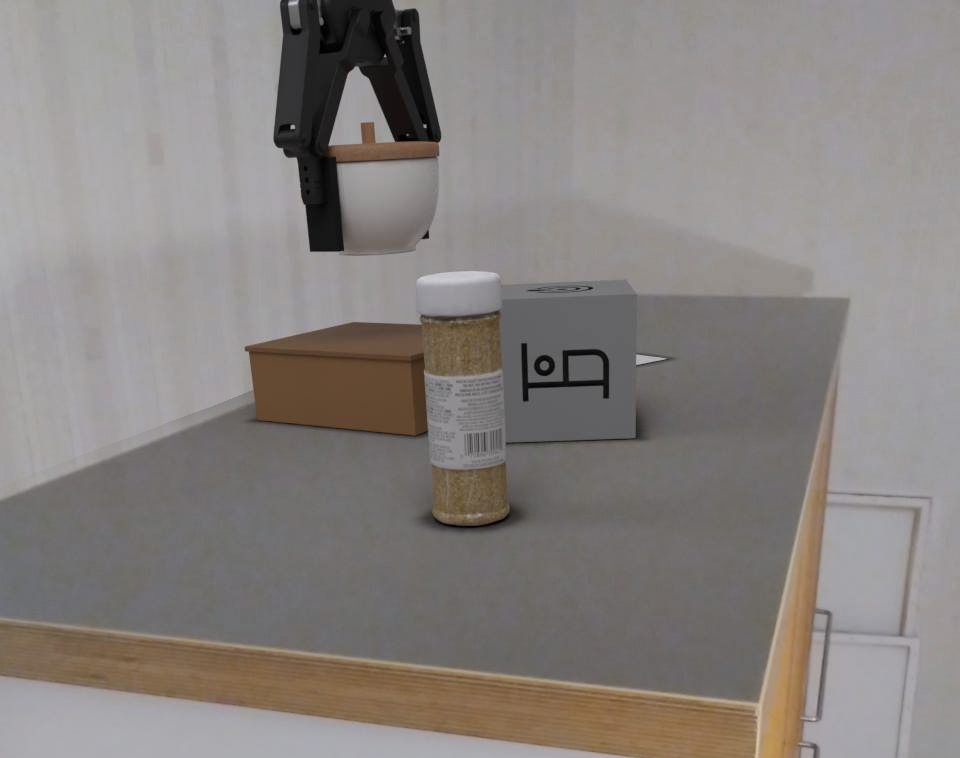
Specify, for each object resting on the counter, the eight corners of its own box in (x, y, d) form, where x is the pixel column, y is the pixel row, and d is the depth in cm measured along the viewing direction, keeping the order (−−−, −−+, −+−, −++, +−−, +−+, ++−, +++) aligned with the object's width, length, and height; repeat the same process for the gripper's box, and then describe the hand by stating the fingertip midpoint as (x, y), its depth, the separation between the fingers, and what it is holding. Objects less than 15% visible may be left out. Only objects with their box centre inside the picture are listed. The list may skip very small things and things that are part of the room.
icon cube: (497, 442, 81) (491, 300, 77) (500, 414, 90) (495, 285, 86) (635, 438, 81) (636, 294, 77) (625, 409, 90) (625, 279, 86)
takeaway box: (253, 420, 93) (244, 346, 90) (359, 388, 104) (353, 321, 101) (416, 436, 84) (410, 355, 82) (512, 400, 96) (509, 327, 93)
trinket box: (463, 244, 92) (457, 118, 88) (415, 257, 83) (405, 117, 79) (345, 247, 95) (334, 126, 91) (285, 260, 86) (270, 126, 82)
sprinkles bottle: (499, 502, 67) (490, 267, 62) (518, 523, 63) (510, 274, 58) (425, 510, 66) (408, 273, 61) (439, 532, 62) (423, 280, 57)
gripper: (278, -116, 69) (315, 258, 78) (475, -67, 87) (488, 233, 96) (191, -97, 73) (236, 258, 82) (397, -54, 91) (416, 233, 100)
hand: (372, 245), depth 89 cm, fingers closed on trinket box, 11 cm apart
